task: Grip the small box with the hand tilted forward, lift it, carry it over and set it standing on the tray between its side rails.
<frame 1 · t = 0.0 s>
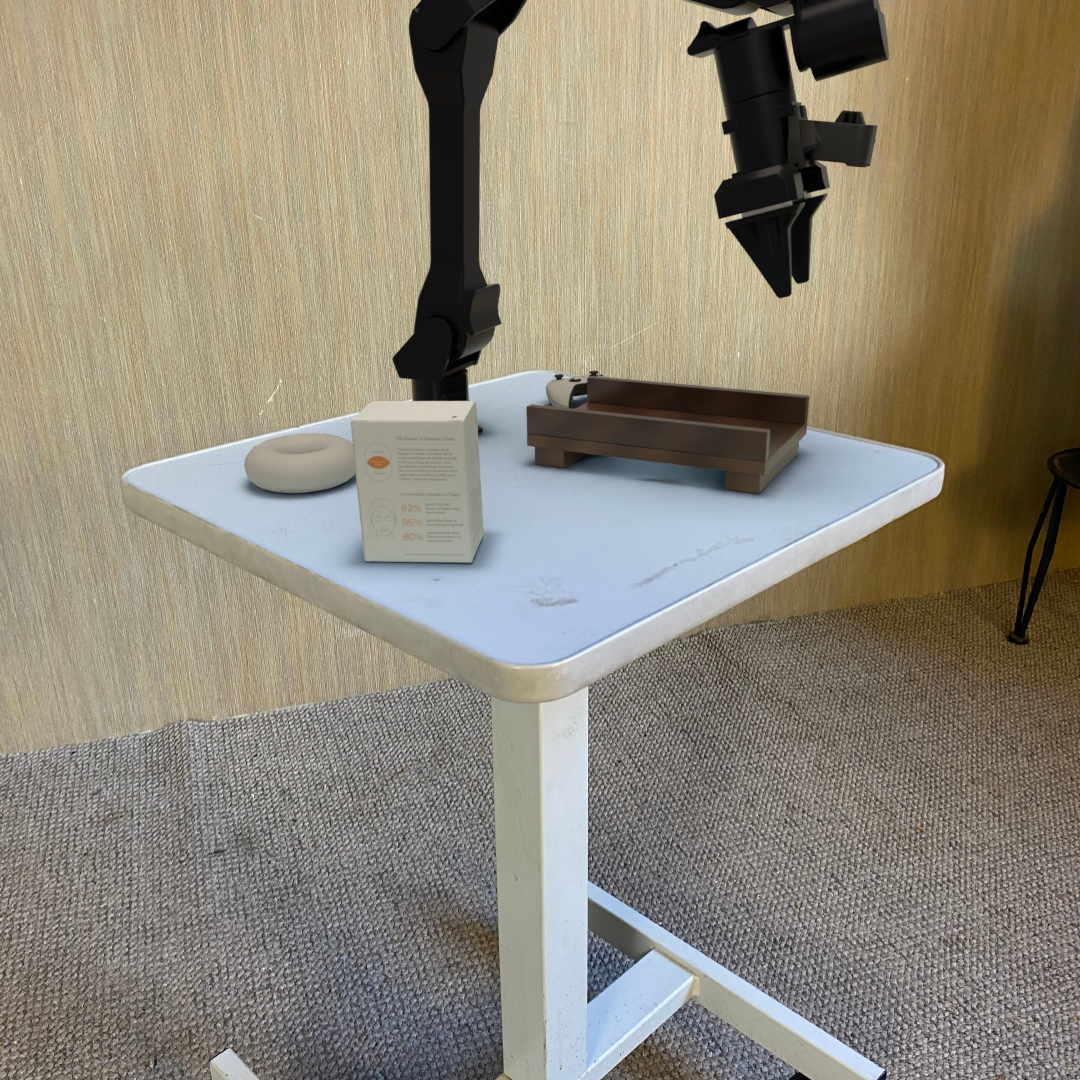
hand: (794, 289, 89), 15 cm above the table, tool pointing down, fingers open, 9 cm apart
donut: (304, 482, 93), on the table
small box: (425, 551, 77), on the table
game controller: (584, 406, 117), on the table
tray: (667, 459, 97), on the table
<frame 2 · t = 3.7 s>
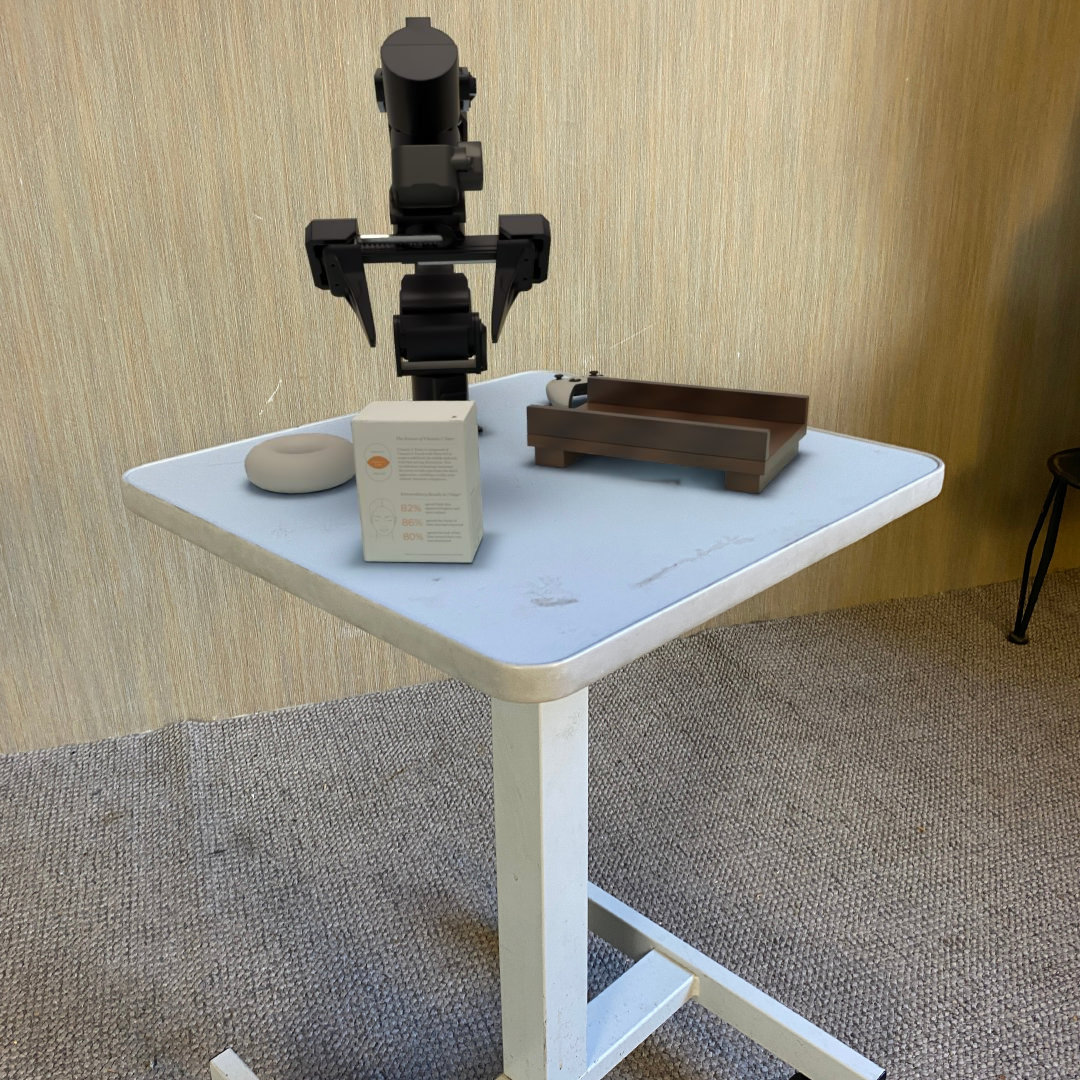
hand: (433, 342, 79), 14 cm above the table, tool tilted 45°, fingers open, 9 cm apart
nothing on the table moved.
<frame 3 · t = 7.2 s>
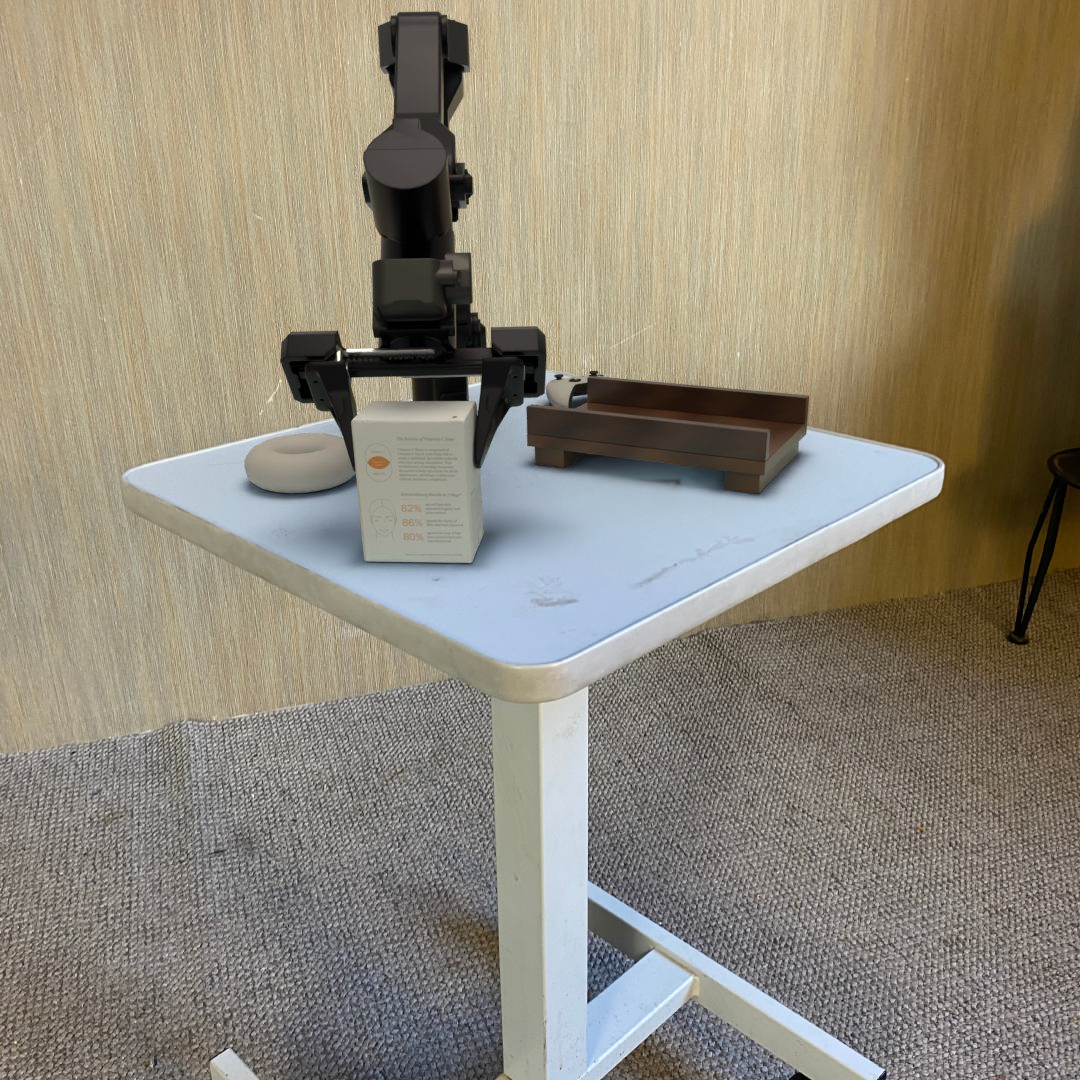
hand: (416, 467, 73), 7 cm above the table, tool tilted 45°, fingers closed on small box, 8 cm apart
small box: (425, 552, 77), on the table, touching gripper
everything else where it was.
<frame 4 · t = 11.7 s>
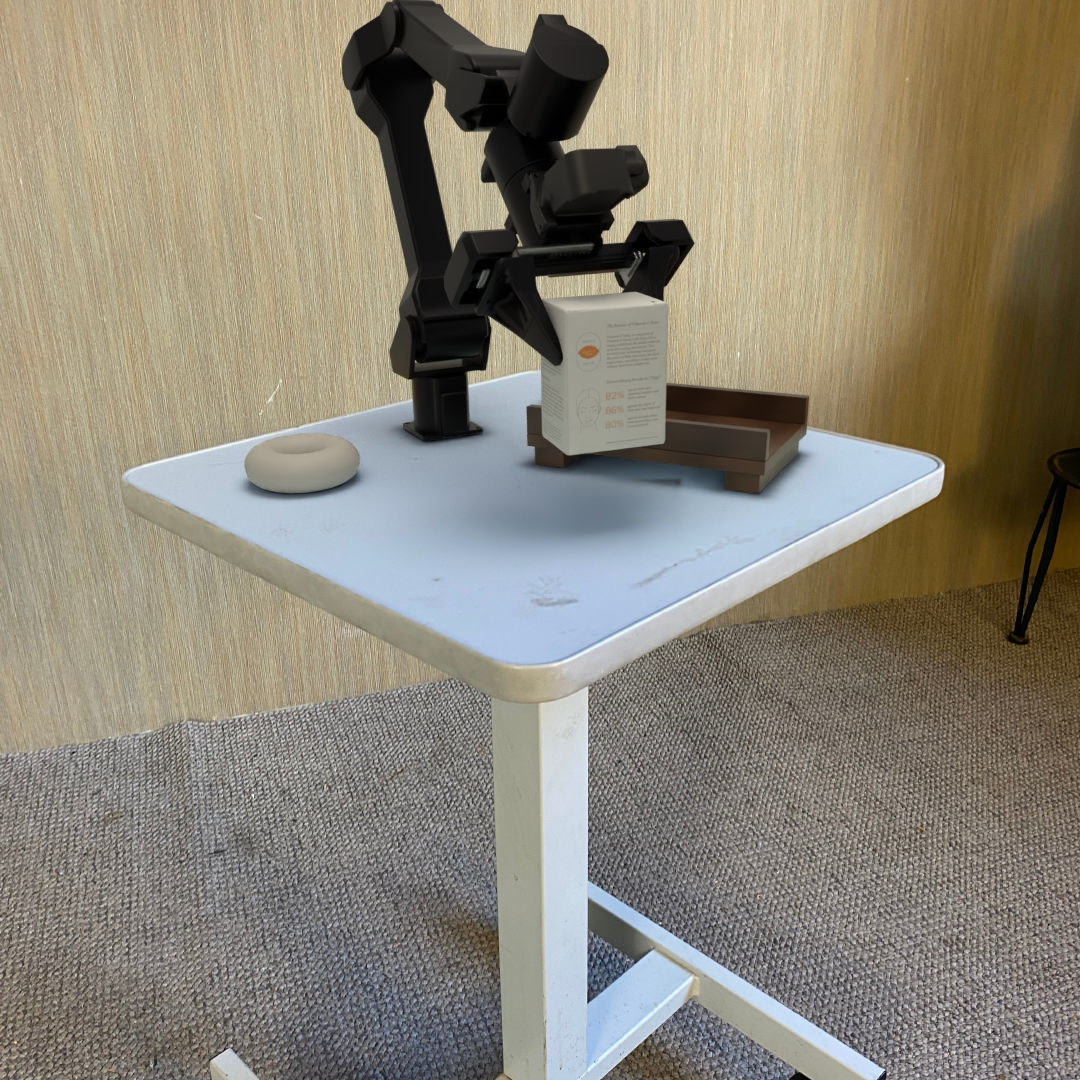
hand: (611, 356, 75), 13 cm above the table, tool tilted 45°, fingers closed on small box, 8 cm apart
small box: (602, 443, 79), point 6 cm above the table, touching gripper
everything else where it was.
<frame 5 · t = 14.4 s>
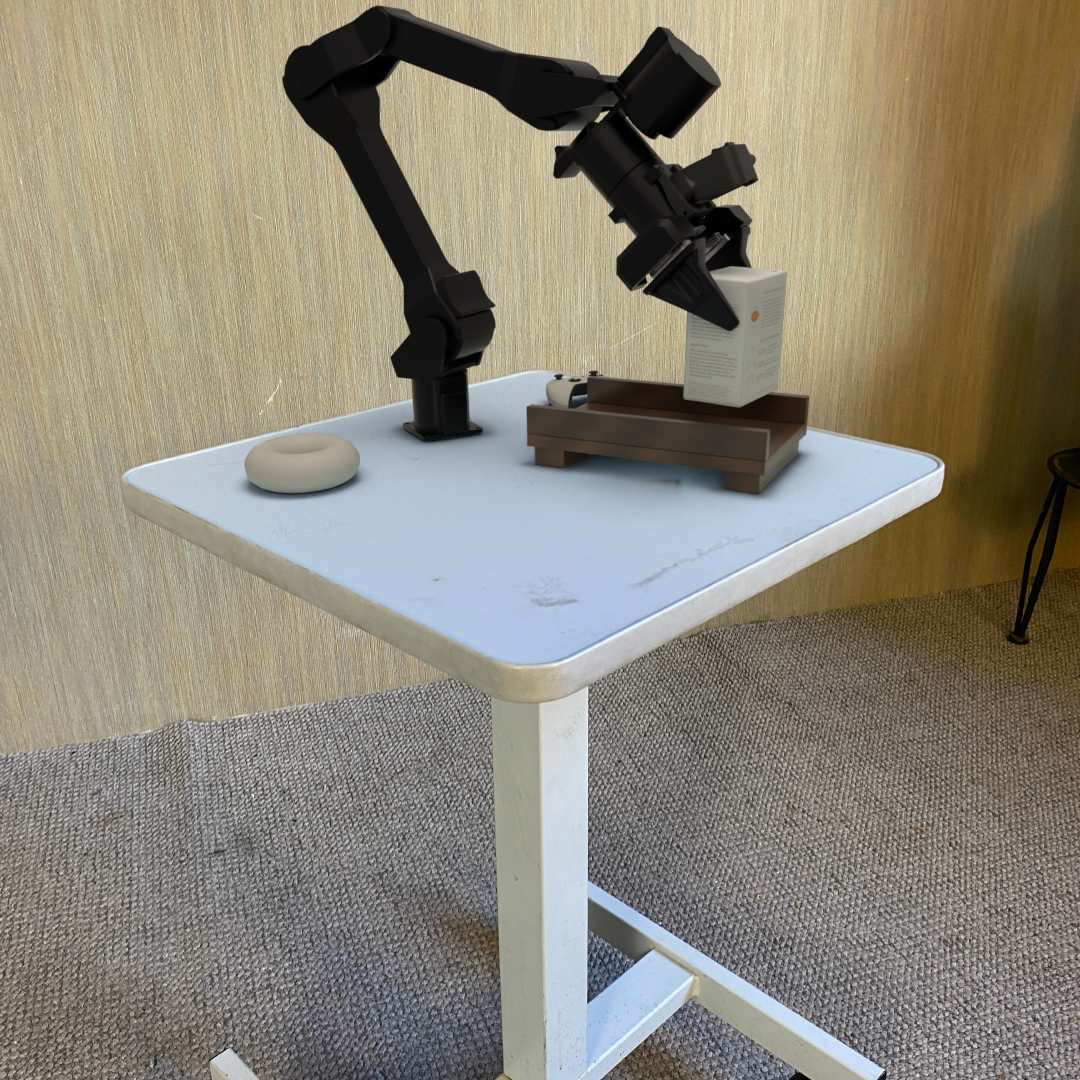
hand: (750, 319, 89), 13 cm above the table, tool tilted 45°, fingers closed on small box, 8 cm apart
small box: (730, 397, 92), point 6 cm above the table, touching gripper
everything else where it was.
when the fingers open (10 cm above the table, at t = 16.5 s): small box stays where it is, resting on tray.
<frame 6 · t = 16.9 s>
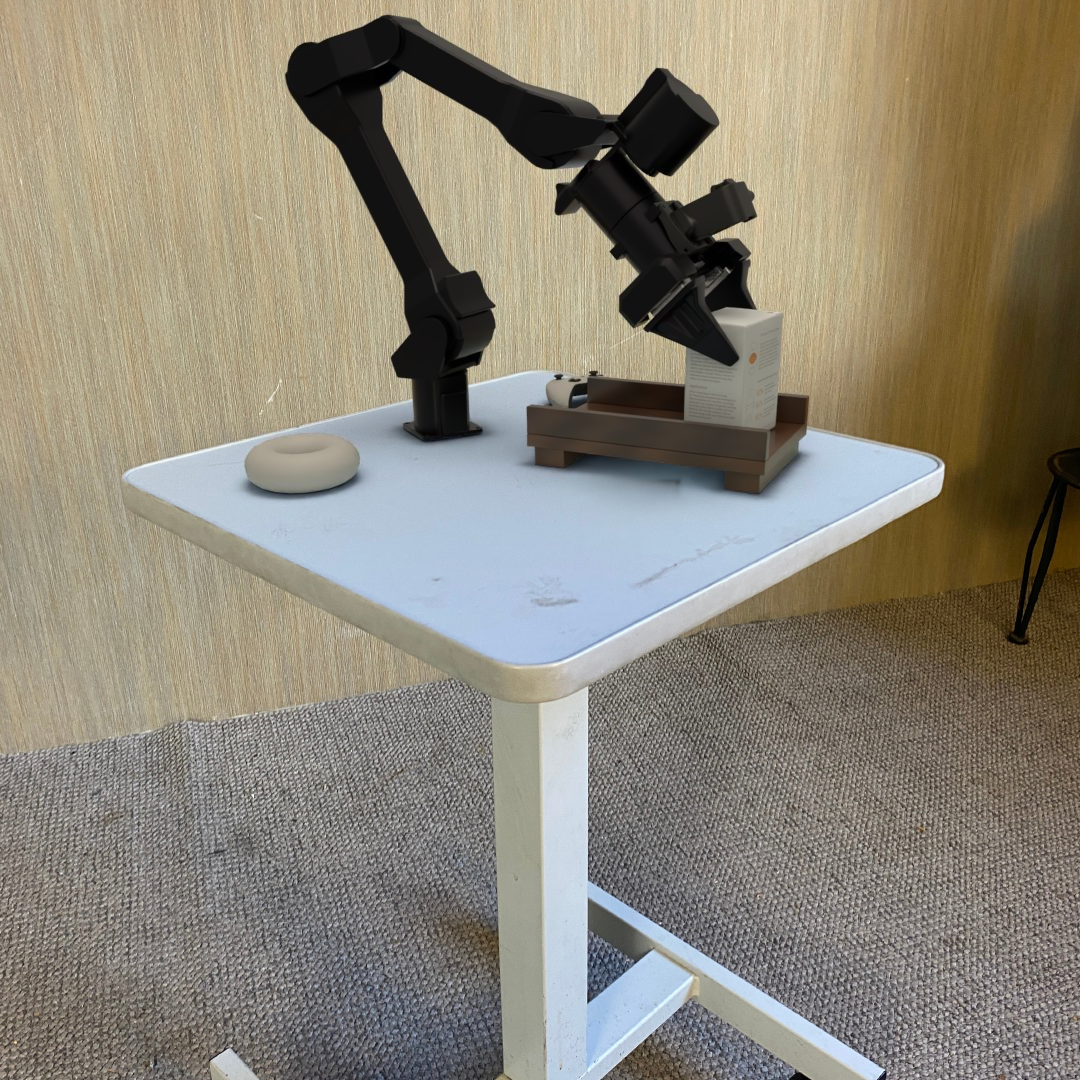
hand: (751, 353, 90), 10 cm above the table, tool tilted 45°, fingers open, 9 cm apart
small box: (729, 436, 93), point 3 cm above the table, touching tray
everything else where it was.
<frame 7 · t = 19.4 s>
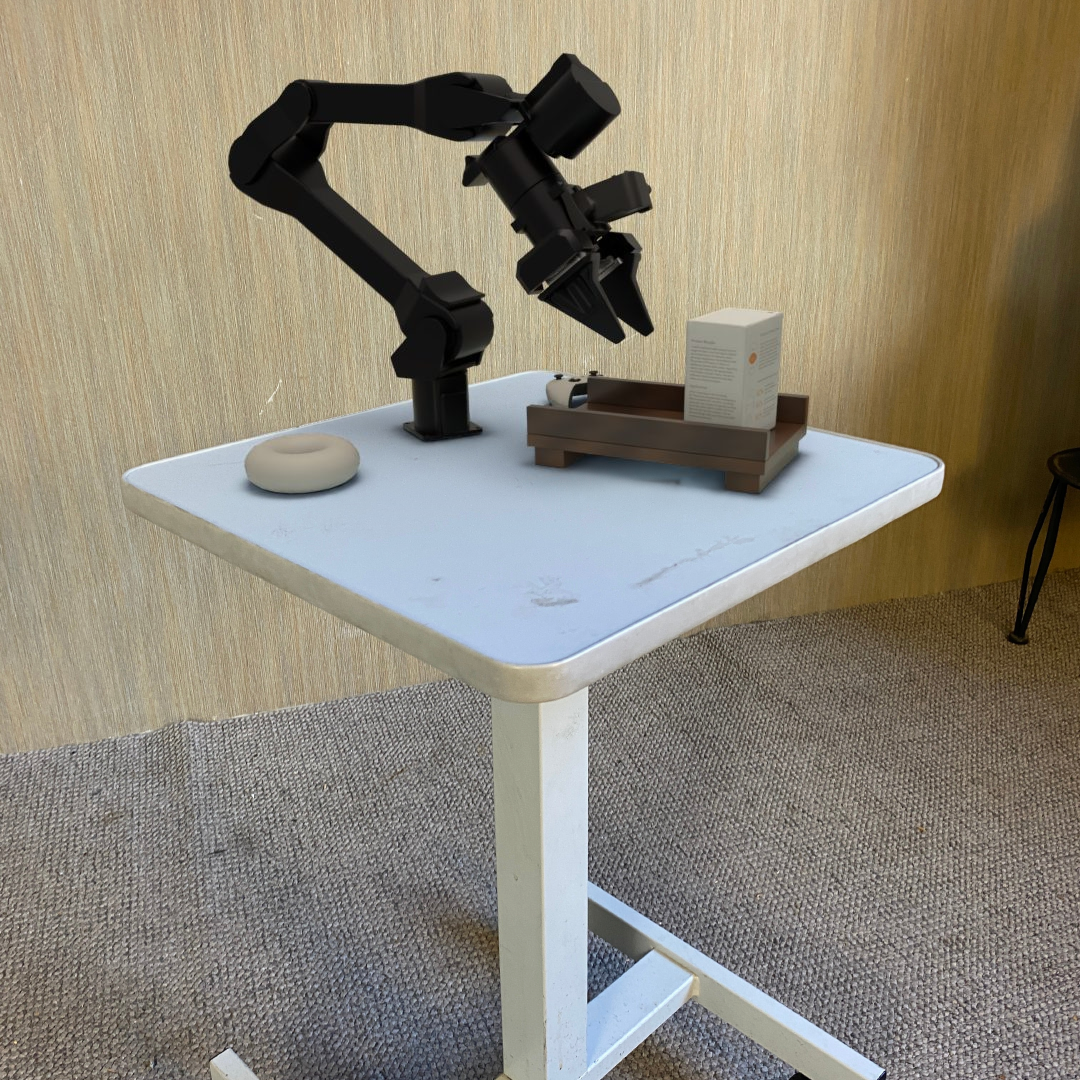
hand: (636, 337, 94), 11 cm above the table, tool tilted 40°, fingers open, 9 cm apart
nothing on the table moved.
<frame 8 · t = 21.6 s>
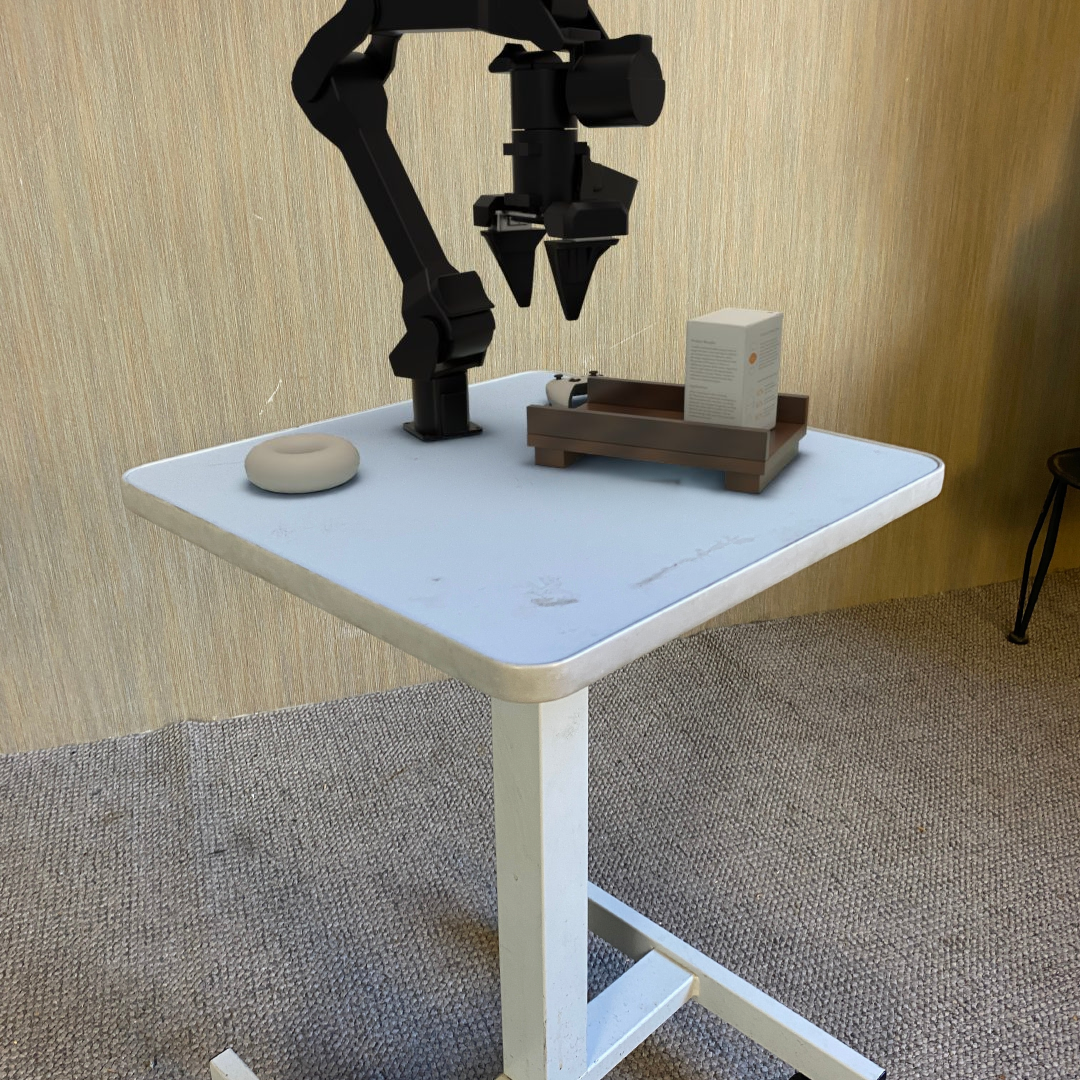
hand: (547, 313, 95), 13 cm above the table, tool pointing down, fingers open, 9 cm apart
nothing on the table moved.
at the end: small box 0.3 cm from the target spot on the tray, point 2.8 cm above the tray's base; small box tilted 0°; the gripper is holding nothing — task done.
